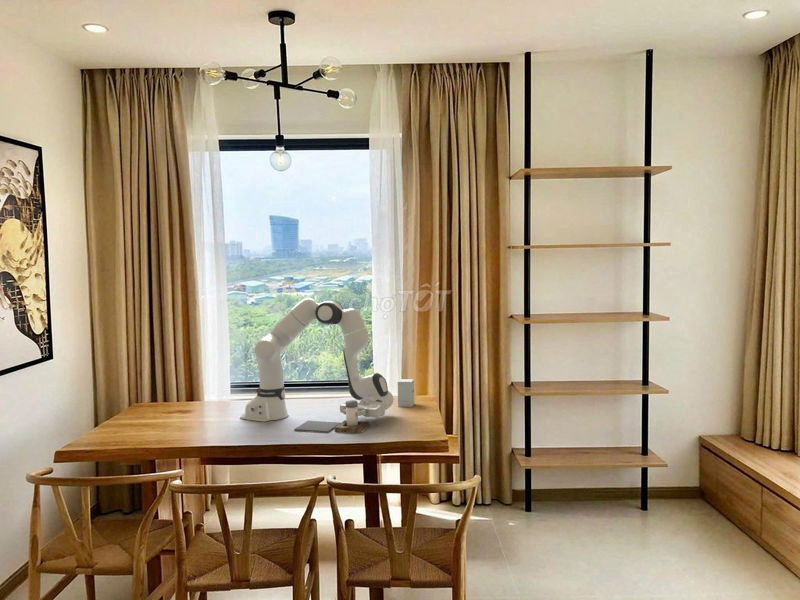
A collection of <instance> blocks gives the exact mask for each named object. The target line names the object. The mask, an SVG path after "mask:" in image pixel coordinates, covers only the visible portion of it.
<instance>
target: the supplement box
mask: <svg viewBox="0 0 800 600" xmlns="http://www.w3.org/2000/svg"><path fill="white" fill-rule="evenodd" d="M414 404H415V379H414V378H413V379H412V378H409V379H407V378H405V379H404V378H401V379H399V380H398V381H397V407H398V408H399V407H400V408H413V406H414Z"/></svg>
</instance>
